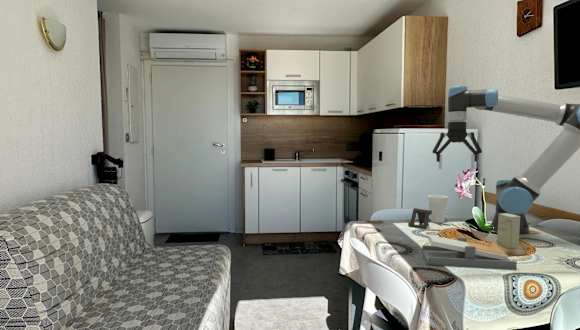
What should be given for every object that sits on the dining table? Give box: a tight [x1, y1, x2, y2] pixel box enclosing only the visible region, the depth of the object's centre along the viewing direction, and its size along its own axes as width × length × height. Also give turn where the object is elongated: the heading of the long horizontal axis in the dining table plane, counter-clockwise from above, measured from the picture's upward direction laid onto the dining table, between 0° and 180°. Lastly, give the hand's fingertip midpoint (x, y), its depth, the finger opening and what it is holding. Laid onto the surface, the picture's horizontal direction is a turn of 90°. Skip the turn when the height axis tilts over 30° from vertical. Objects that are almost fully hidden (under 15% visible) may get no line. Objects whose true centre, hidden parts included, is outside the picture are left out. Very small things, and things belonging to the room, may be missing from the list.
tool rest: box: [489, 241, 528, 256], centre depth 139 cm, size 12×12×2 cm
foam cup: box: [427, 194, 449, 224], centre depth 190 cm, size 10×9×13 cm
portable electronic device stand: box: [407, 207, 432, 230], centre depth 179 cm, size 9×8×8 cm
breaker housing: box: [421, 236, 517, 270], centre depth 130 cm, size 27×15×6 cm, turn 78°
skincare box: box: [496, 213, 520, 249], centre depth 139 cm, size 6×4×12 cm
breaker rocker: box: [427, 234, 509, 261], centre depth 129 cm, size 24×9×2 cm, turn 78°
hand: (456, 169), depth 166 cm, fingers open, 13 cm apart
